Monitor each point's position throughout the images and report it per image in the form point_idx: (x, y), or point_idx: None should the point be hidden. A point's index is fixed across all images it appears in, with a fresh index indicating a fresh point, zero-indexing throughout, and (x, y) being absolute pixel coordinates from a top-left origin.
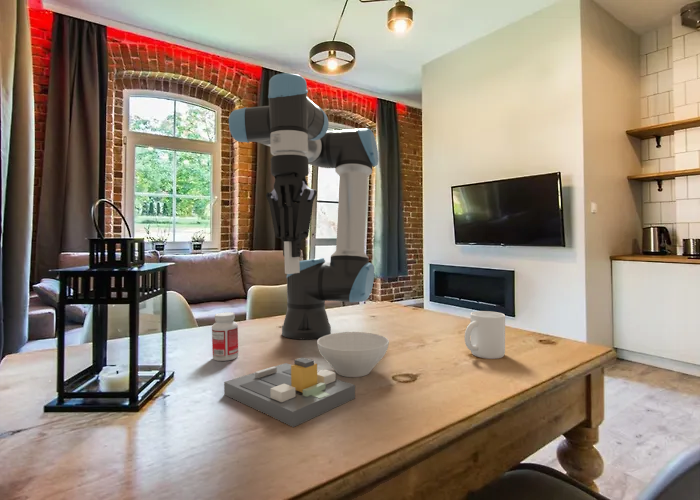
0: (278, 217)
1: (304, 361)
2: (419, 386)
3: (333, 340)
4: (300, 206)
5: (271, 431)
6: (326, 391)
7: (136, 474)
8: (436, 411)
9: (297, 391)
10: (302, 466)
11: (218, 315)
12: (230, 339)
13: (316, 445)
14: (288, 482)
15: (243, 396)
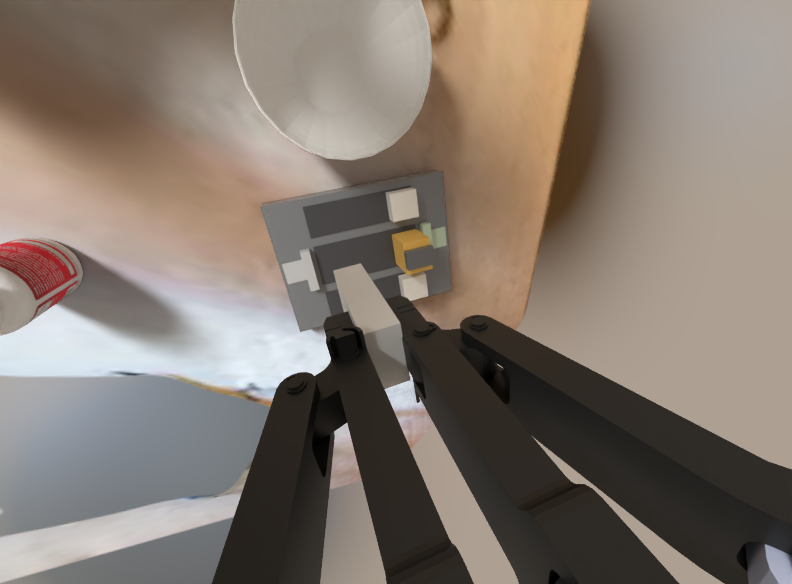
0: (312, 543)
1: (426, 261)
2: (474, 33)
3: (243, 48)
4: (645, 508)
5: (435, 304)
6: (432, 223)
7: (423, 408)
8: (537, 107)
9: None
10: (502, 304)
11: None
12: (50, 282)
13: (487, 279)
14: (509, 321)
15: None
